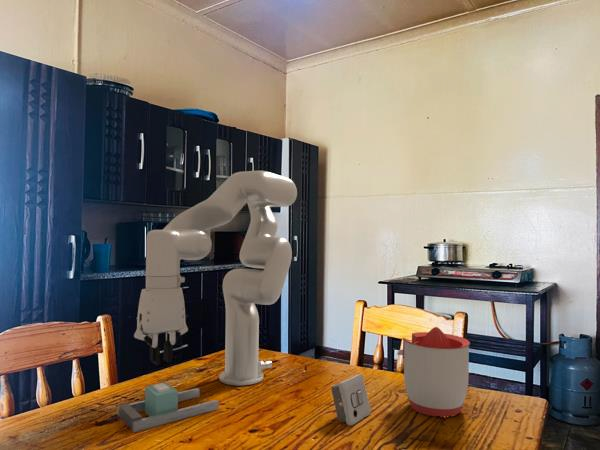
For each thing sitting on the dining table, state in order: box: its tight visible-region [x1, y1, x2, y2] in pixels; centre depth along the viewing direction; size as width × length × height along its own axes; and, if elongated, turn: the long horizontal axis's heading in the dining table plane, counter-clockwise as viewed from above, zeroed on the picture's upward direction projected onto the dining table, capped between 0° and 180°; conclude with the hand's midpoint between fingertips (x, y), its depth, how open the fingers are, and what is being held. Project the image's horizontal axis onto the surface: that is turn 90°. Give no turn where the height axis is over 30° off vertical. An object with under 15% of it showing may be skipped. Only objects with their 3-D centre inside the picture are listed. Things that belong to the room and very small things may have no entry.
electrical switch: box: [330, 373, 372, 426], centre depth 104 cm, size 9×5×9 cm, turn 141°
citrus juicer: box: [396, 326, 471, 418], centre depth 110 cm, size 16×17×20 cm
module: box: [144, 382, 179, 417], centre depth 104 cm, size 5×7×7 cm
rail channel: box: [117, 387, 219, 433], centre depth 105 cm, size 20×11×2 cm, turn 129°
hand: (161, 361), depth 104 cm, fingers closed
